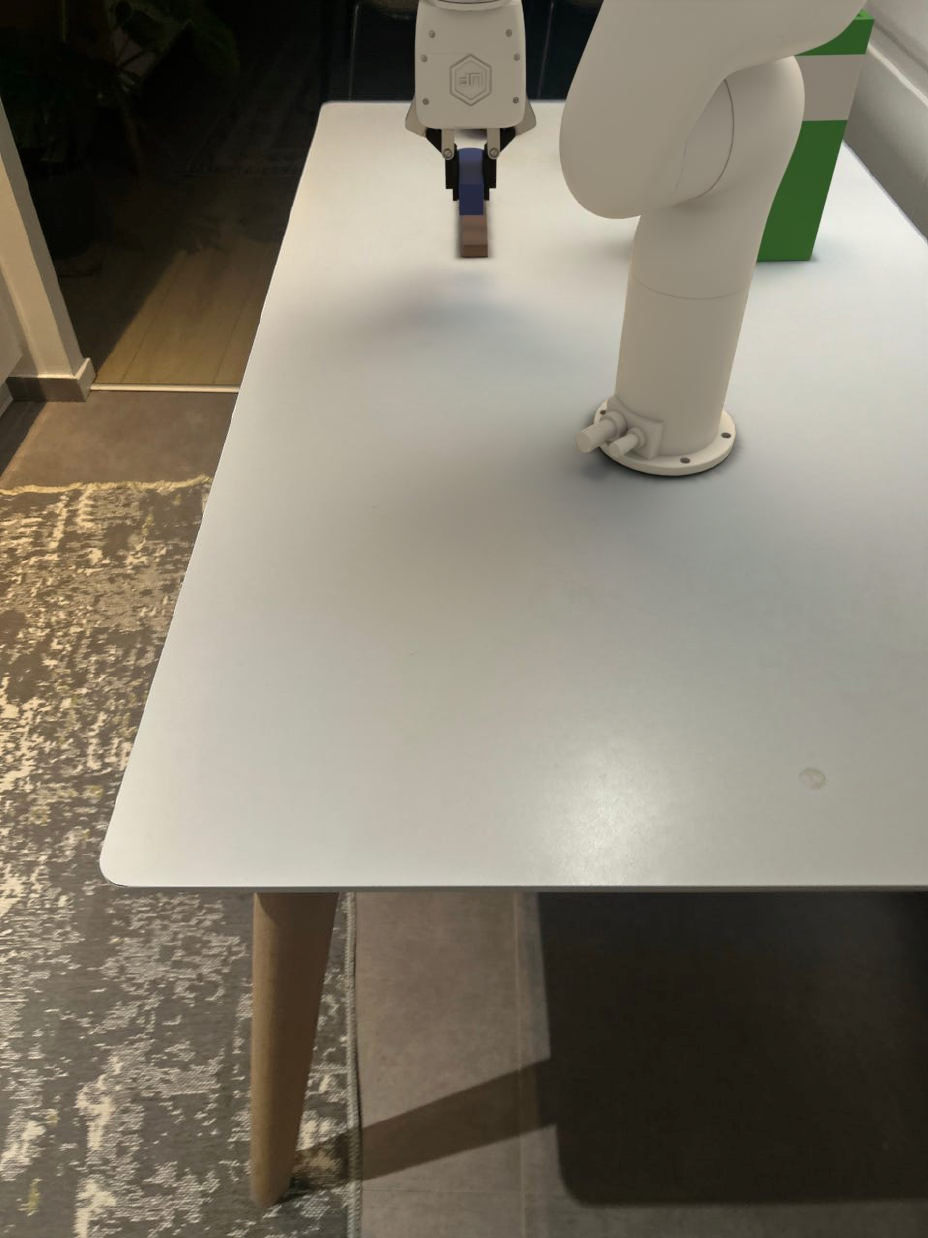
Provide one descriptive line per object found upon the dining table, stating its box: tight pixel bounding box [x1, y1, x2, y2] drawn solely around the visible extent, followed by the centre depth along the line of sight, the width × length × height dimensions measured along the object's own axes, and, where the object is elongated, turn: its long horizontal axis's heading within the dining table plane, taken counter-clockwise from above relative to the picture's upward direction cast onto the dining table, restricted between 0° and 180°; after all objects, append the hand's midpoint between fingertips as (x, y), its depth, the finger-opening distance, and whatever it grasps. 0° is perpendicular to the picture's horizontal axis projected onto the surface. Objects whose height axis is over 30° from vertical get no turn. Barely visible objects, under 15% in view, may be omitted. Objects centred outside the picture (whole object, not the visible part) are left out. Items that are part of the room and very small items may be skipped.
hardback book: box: [756, 8, 876, 262], centre depth 100 cm, size 18×7×24 cm, turn 91°
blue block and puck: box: [457, 147, 484, 216], centre depth 94 cm, size 12×4×3 cm, turn 0°
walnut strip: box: [461, 201, 489, 258], centre depth 114 cm, size 18×3×2 cm, turn 0°
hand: (470, 193), depth 93 cm, fingers closed on blue block and puck, 2 cm apart
